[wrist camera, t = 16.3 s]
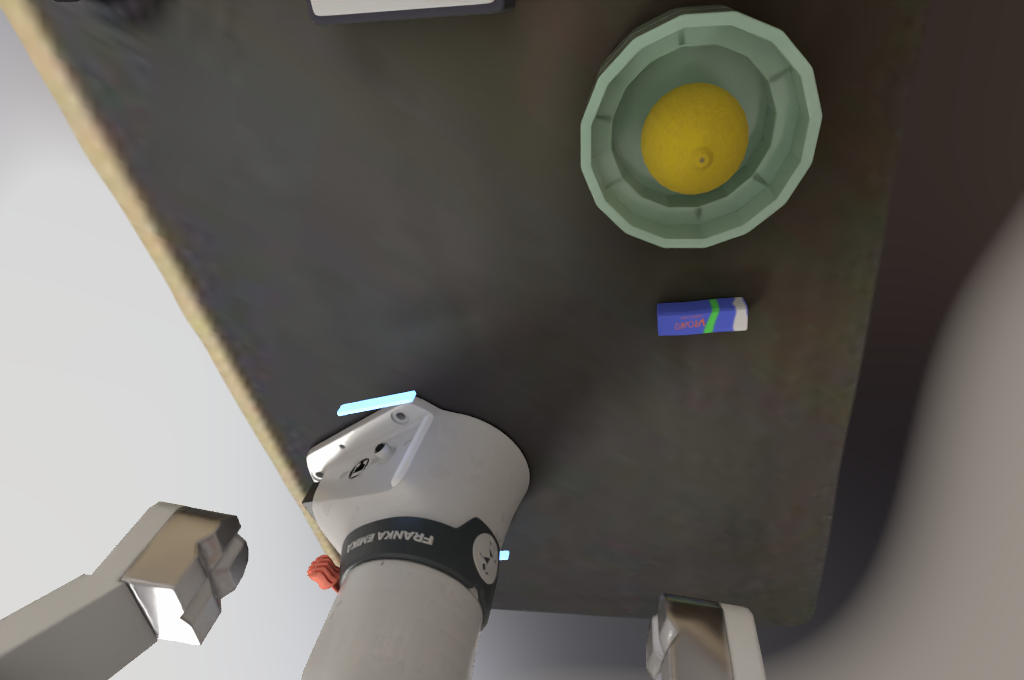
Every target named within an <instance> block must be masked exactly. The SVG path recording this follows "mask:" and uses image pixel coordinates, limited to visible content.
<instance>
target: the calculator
mask: <svg viewBox="0 0 1024 680" xmlns="http://www.w3.org/2000/svg"><path fill="white" fill-rule="evenodd" d="M306 1H307V6H308V11H309V15H310V18H311V21H312V22H313V23H314V24H315V25H318V26H328V25H341V24H355V23H369V22H383V21H396V20H410V19H424V18H438V17H451V16H465V15H479V14H493V13H502V12H508V11H511V10H512V9H513V8H514V6H515V0H306Z"/></svg>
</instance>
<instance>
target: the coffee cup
mask: <svg viewBox="0 0 1024 680" xmlns="http://www.w3.org/2000/svg"><path fill="white" fill-rule="evenodd" d="M54 1H57V2H77V1H79V0H54Z"/></svg>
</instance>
